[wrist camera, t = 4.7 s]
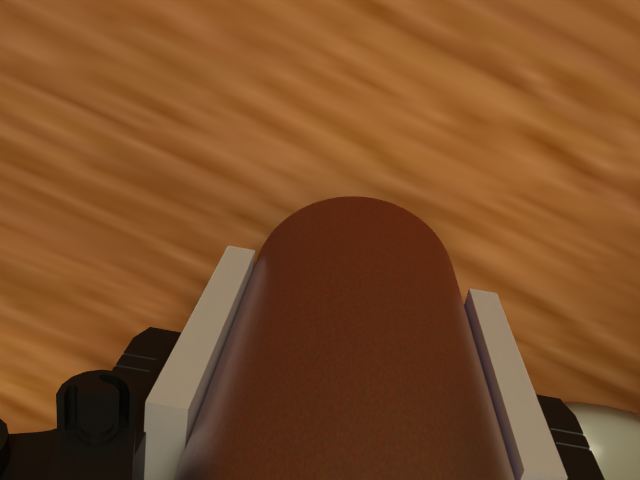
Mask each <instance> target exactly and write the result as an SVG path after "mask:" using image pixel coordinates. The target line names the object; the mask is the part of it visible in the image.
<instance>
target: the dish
mask: <svg viewBox="0 0 640 480" xmlns="http://www.w3.org/2000/svg"><path fill="white" fill-rule="evenodd" d="M563 403H564V404H565V405H566V406H567V407H568V408H569V409H570V410H571V411H572V412H573V413H574V414H575V415H576V418H577V420H578V422H579V424H580V426H581V428H582V431H583V436H585V437H586V439H587V442H588V444H589V446H590V450H591V451H592V453H593V455H594V457H595V459H596V461H597V464H598V466H599V468H600V470H601V472H602V475H603V477H604V479H605V480H640V416H639V415H637V414H634V413H631V412H628V411H624V410H620V409H616V408H612V407H608V406H602V405H594V404H587V403H572V402H563Z"/></svg>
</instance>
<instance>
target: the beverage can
mask: <svg viewBox="0 0 640 480" xmlns="http://www.w3.org/2000/svg"><path fill="white" fill-rule="evenodd" d="M174 480H515V478H514V475H513V472H512V468H511V465H510V461H509V458H508V454H507V451H506V448H505V444H504V441H503V437H502V434H501V431H500V427H499V424H498V420H497V417H496V413H495V410H494V407H493V403H492V400H491V396H490V393H489V389H488V386H487V383H486V379H485V376H484V372H483V369H482V366H481V362H480V359H479V355H478V352H477V348H476V345H475V342H474V338H473V335H472V331H471V328H470V325H469V321H468V318H467V314H466V311H465V307H464V304H463V301H462V297H461V294H460V290H459V287H458V283H457V280H456V277H455V273H454V270H453V266H452V263H451V260H450V258H449V255H448V253H447V251H446V249H445V247H444V245H443V244H442V242H441V241H440V239H439V238H438V236H437V235H436V234H435V233H434V232H433V231H432V229H431V228H430V227H429V226H428V225H427V224H425V223H424V222H423V221H422V220H421V219H419V218H418V217H417V216H415V215H414V214H412V213H411V212H409V211H407V210H405V209H403V208H401V207H399V206H397V205H395V204H392V203H389V202H386V201H382V200H379V199H374V198H367V197H355V196H353V197H337V198H332V199H327V200H323V201H319V202H316V203H313V204H311V205H309V206H306V207H304V208H302V209H300V210H298V211H297V212H295V213H294V214H292V215H291V216H289V217H288V218H287V219H285V220H284V221H283V222H282V223H281V224H280V225H279V226H278V227H277V228H276V229H275V230H274V231H273V232H272V233H271V235H270V236H269V237H268V239H267V240H266V242H265V243H264V245H263V247H262V249H261V251H260V253H259V256H258V258H257V261H256V264H255V266H254V269H253V272H252V274H251V277H250V280H249V282H248V285H247V287H246V290H245V293H244V295H243V298H242V301H241V303H240V306H239V309H238V311H237V314H236V316H235V319H234V322H233V324H232V327H231V330H230V332H229V335H228V338H227V340H226V343H225V346H224V348H223V351H222V353H221V356H220V359H219V361H218V364H217V367H216V369H215V372H214V375H213V377H212V380H211V383H210V385H209V388H208V390H207V393H206V396H205V398H204V401H203V404H202V406H201V409H200V412H199V414H198V417H197V420H196V422H195V425H194V427H193V430H192V433H191V435H190V438H189V441H188V443H187V446H186V449H185V451H184V454H183V457H182V459H181V462H180V464H179V467H178V470H177V472H176V475H175V478H174Z"/></svg>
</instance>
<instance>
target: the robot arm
mask: <svg viewBox="0 0 640 480" xmlns="http://www.w3.org/2000/svg"><path fill="white" fill-rule="evenodd" d="M254 257H255V250H250V249H245V248H239V247H234V246H228V247H227V248H226V250H225V252H224V254H223V256H222V258H221V260H220V262H219V264H218V265H217V267H216V269H215V271H214V273H213V275H212V277H211V279H210V281H209V282H208V284H207V286H206V288H205V290H204V292H203V294H202V296H201V298H200V299H199V301H198V303H197V305H196V307H195V309H194V311H193V313H192V315H191V316H190V318H189V320H188V322H187V324H186V326H185V328H184V330H183V332H182V333H181V332H175V331H169V330H164V329H158V328H153V327H150V328H148V329H146V330H145V331H143V332H142V333H140V334H139V335H137V336H135V337H134V338H133V339H132V341H131V342H130V344H129V345H128V347H127V348H126V350H125V351H124V355H122V356H121V358H120V359H119V361H118V362H117V364H116V367H114V368H113V370H112V371H108V370H95V371H87V372H84V373H81V374H78V375H76V376H73V377H71V378H70V379H69V380H67V381H66V382H65V383H63V384H62V385H61V387H60V389H59V390H58V392H57V394H56V404H57V429H53V430H50V431H43V432H34V433H19V434H9V433H8V429H7V424H6V423H5V422H3V421H2V420H1V419H0V480H174V478H175V475H176V472H177V470H178V467H179V464H180V462H181V459H182V457H183V454H184V451H185V449H186V446H187V443H188V441H189V438H190V435H191V433H192V430H193V427H194V425H195V422H196V420H197V417H198V414H199V412H200V409H201V406H202V404H203V401H204V398H205V396H206V393H207V390H208V388H209V385H210V383H211V380H212V377H213V375H214V372H215V369H216V367H217V364H218V361H219V359H220V356H221V353H222V351H223V348H224V346H225V343H226V340H227V338H228V335H229V332H230V330H231V327H232V324H233V322H234V319H235V316H236V314H237V311H238V309H239V306H240V303H241V301H242V298H243V295H244V293H245V290H246V287H247V285H248V282H249V280H250V277H251V274H252V272H253V265H254ZM464 307H465V311H466V314H467V318H468V321H469V325H470V328H471V331H472V335H473V338H474V342H475V345H476V348H477V352H478V355H479V359H480V362H481V366H482V369H483V372H484V376H485V379H486V383H487V386H488V389H489V393H490V396H491V400H492V403H493V407H494V410H495V413H496V417H497V420H498V424H499V427H500V431H501V434H502V437H503V441H504V444H505V448H506V451H507V454H508V458H509V461H510V465H511V468H512V472H513V475H514V478H515V480H605V479H604V477H603V475H602V472H601V470H600V468H599V466H598V464H597V461H596V459H595V457H594V455H593V453H592V451H591V450H590V446H589V444H588V442H587V439H586V437H585V436H583V431H582V428H581V426H580V424H579V422H578V420H577V418H576V415H575V414H574V413H573V412H572V411H571V410H570V409H569V408H568V407H567V406H566V405H565V404H564V403H563V402H562V401H561V400H560V399H558V398H552V397H546V396H541V395H536V394H535V391H534V389H533V386H532V383H531V381H530V378H529V376H528V373H527V370H526V368H525V365H524V363H523V360H522V357H521V355H520V352H519V350H518V347H517V344H516V342H515V339H514V337H513V334H512V331H511V329H510V326H509V324H508V321H507V318H506V316H505V313H504V311H503V308H502V305H501V303H500V300H499V298H498V295H497V293H493V292H487V291H481V290H476V289H470V288H469V291H468V294H467V298H466V301H465V304H464Z"/></svg>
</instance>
